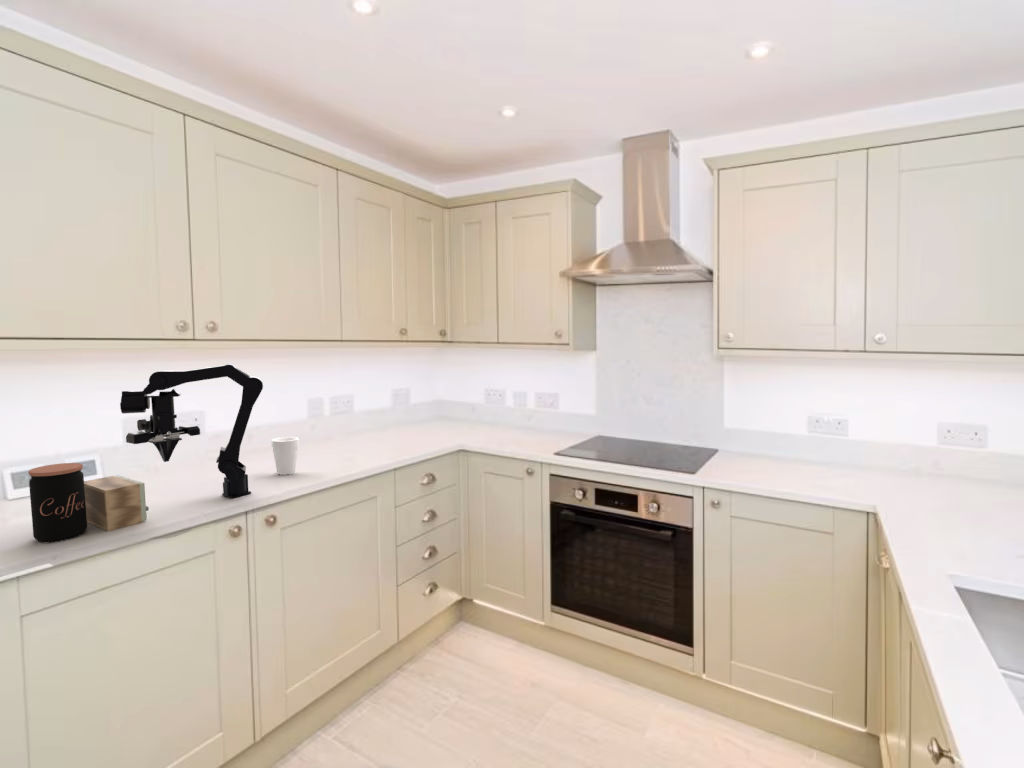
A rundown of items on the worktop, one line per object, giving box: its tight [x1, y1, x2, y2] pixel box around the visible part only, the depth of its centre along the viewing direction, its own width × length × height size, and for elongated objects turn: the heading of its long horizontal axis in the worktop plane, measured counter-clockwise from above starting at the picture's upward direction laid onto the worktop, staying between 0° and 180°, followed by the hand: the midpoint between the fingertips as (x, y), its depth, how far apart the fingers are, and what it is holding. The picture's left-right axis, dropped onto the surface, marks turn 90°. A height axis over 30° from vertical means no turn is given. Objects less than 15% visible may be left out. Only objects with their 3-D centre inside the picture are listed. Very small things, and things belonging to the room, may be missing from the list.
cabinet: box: [84, 475, 143, 532], centre depth 147 cm, size 8×16×11 cm, turn 58°
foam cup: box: [271, 436, 300, 476], centre depth 200 cm, size 10×9×13 cm
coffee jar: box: [27, 462, 88, 543], centre depth 136 cm, size 11×11×18 cm
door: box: [115, 475, 149, 522], centre depth 151 cm, size 2×16×11 cm, turn 58°
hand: (166, 461), depth 163 cm, fingers closed
